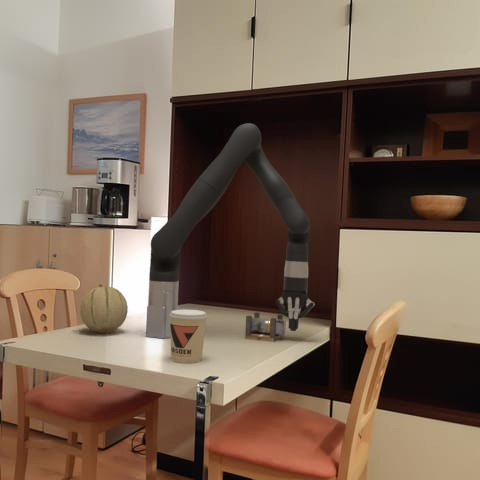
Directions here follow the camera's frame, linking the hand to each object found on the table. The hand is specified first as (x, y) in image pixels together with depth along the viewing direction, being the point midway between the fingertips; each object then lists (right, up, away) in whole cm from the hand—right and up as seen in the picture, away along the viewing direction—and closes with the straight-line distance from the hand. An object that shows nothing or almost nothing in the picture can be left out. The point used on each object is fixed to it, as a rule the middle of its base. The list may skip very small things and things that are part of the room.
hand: (293, 330), depth 154 cm
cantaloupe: (-60, -1, 0) cm, 60 cm away
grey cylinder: (-8, -2, +3) cm, 9 cm away
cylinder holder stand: (-9, -3, +3) cm, 10 cm away
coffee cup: (-31, -2, -30) cm, 43 cm away
